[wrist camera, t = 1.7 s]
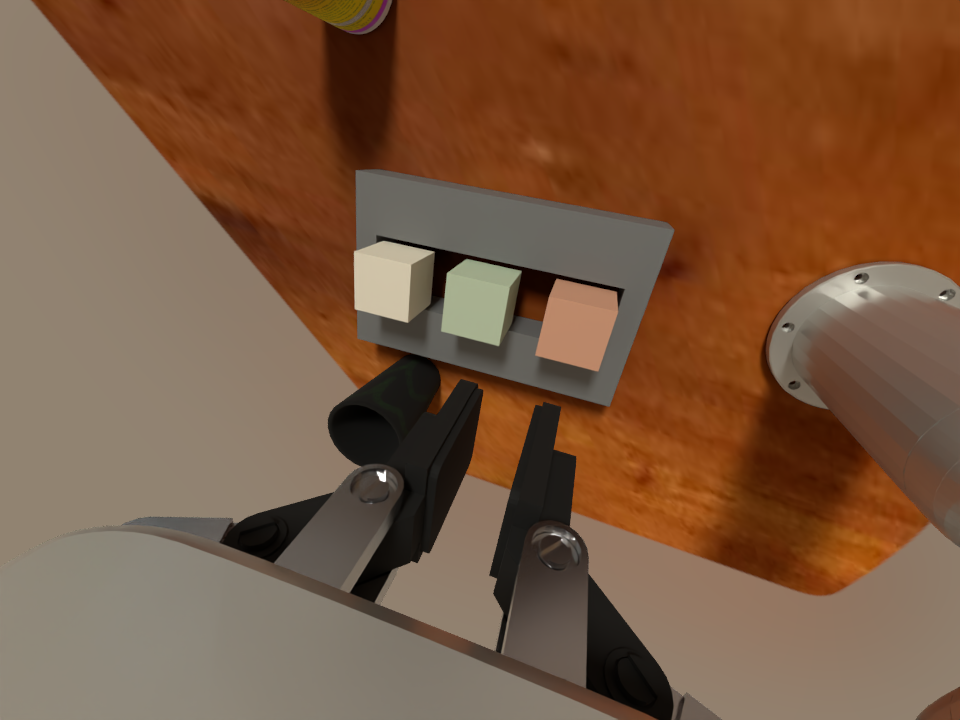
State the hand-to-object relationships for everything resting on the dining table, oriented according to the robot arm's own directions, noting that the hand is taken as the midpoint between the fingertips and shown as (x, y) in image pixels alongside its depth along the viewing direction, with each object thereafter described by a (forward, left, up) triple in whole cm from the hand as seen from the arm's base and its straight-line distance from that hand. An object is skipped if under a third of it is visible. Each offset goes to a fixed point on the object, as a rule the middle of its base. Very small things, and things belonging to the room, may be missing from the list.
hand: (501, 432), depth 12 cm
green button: (+6, +4, -24) cm, 25 cm away
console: (+6, +4, -27) cm, 28 cm away
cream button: (+14, +4, -24) cm, 28 cm away
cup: (+14, +17, -27) cm, 35 cm away
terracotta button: (-2, +4, -24) cm, 24 cm away
